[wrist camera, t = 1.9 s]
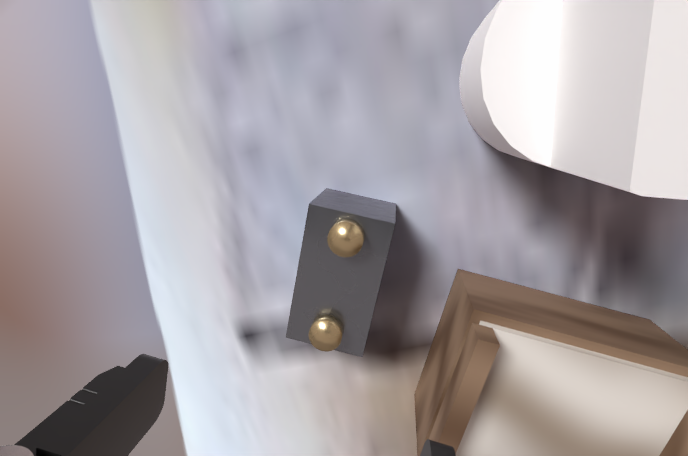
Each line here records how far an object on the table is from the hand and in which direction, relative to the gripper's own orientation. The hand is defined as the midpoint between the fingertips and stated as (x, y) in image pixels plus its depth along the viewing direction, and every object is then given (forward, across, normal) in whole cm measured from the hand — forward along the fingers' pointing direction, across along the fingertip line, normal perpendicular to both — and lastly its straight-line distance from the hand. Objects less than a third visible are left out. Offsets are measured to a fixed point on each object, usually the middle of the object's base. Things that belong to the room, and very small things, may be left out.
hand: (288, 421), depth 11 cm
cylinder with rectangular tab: (+15, -8, -13) cm, 21 cm away
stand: (+15, -13, +4) cm, 20 cm away
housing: (+15, 0, 0) cm, 15 cm away
